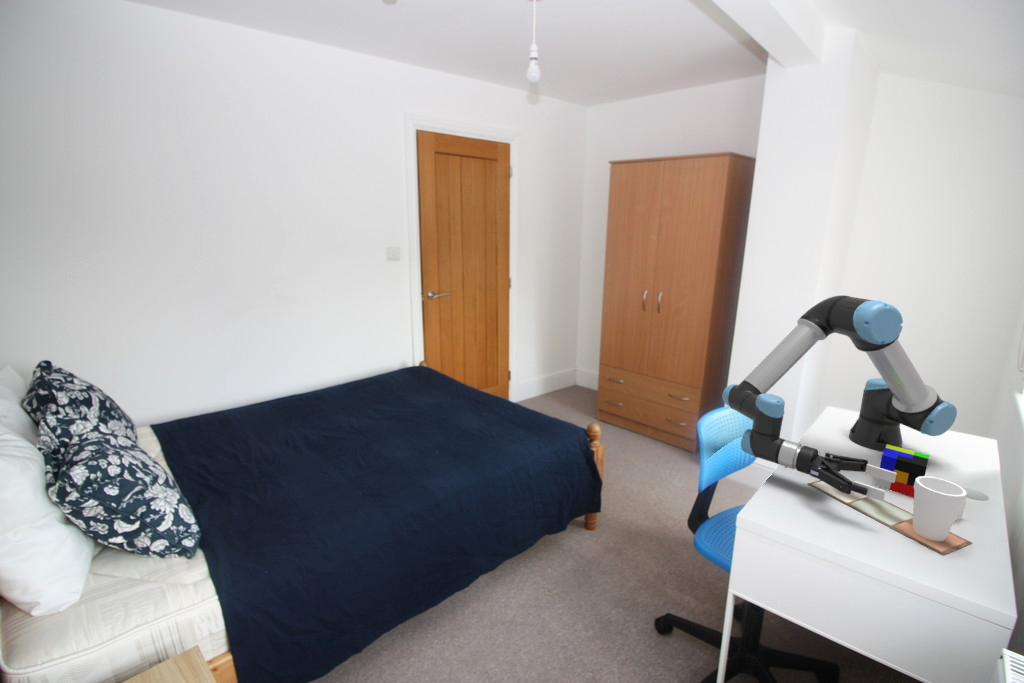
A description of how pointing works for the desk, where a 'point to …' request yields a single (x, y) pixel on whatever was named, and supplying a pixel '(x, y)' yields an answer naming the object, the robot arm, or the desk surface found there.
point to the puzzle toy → (902, 469)
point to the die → (961, 512)
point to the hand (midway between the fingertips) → (890, 486)
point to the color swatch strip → (891, 517)
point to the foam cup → (936, 506)
